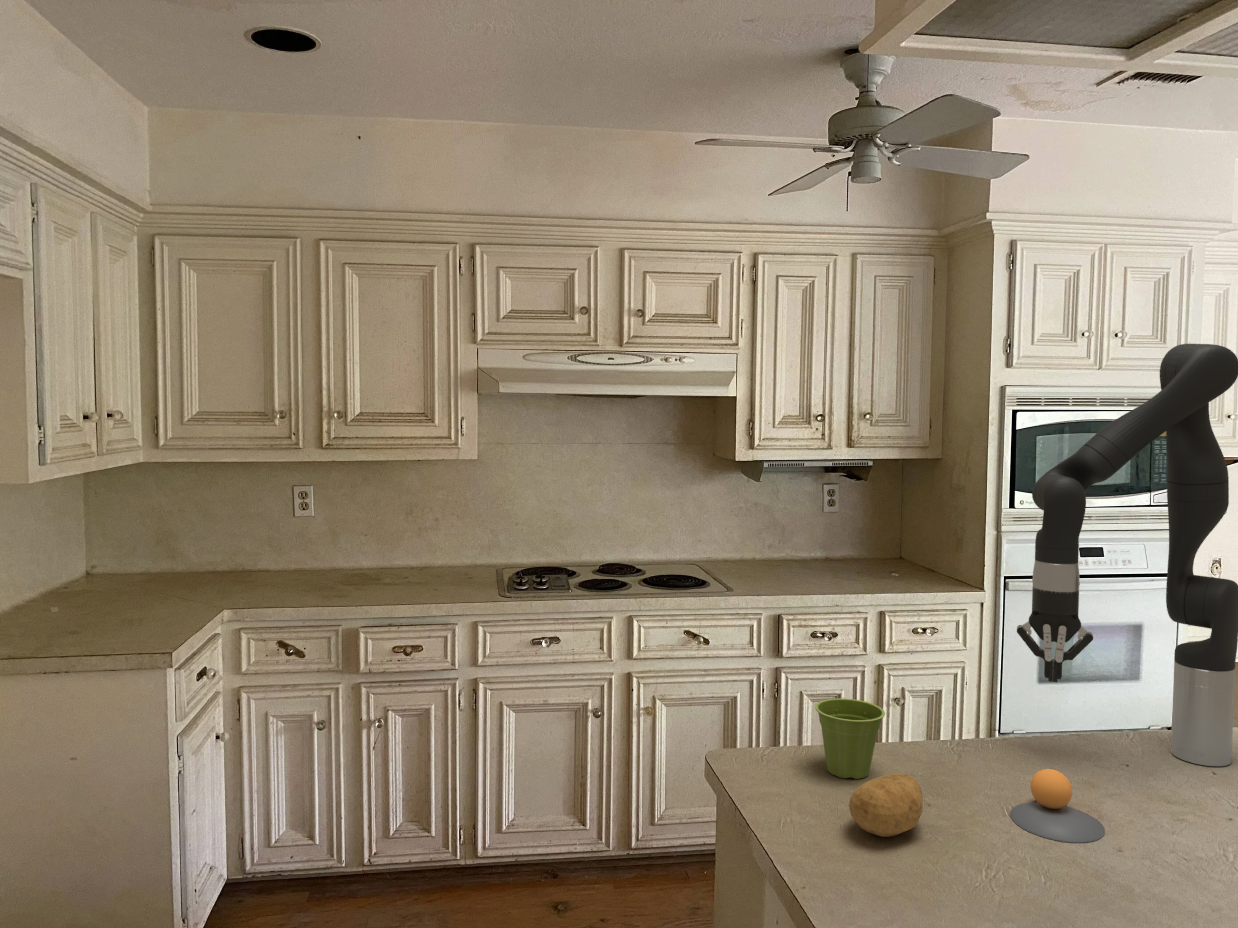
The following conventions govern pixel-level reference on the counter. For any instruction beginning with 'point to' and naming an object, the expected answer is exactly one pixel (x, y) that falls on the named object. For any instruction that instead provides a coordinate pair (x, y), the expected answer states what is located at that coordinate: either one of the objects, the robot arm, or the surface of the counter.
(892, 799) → the potato
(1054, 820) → the disc
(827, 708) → the plant pot
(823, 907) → the counter surface
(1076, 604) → the robot arm
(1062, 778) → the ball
